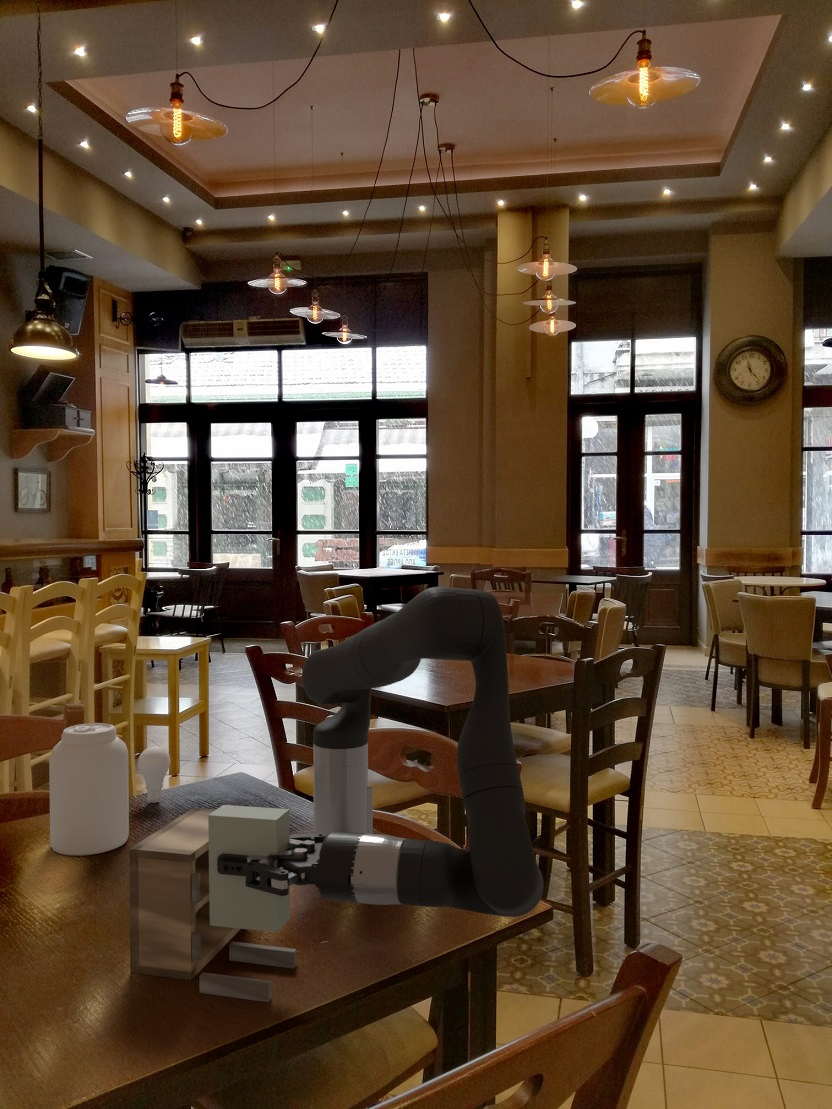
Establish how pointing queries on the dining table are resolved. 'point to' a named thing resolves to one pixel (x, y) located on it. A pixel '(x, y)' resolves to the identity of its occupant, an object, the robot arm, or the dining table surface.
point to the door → (228, 893)
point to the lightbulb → (154, 770)
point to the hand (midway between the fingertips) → (228, 856)
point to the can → (89, 790)
